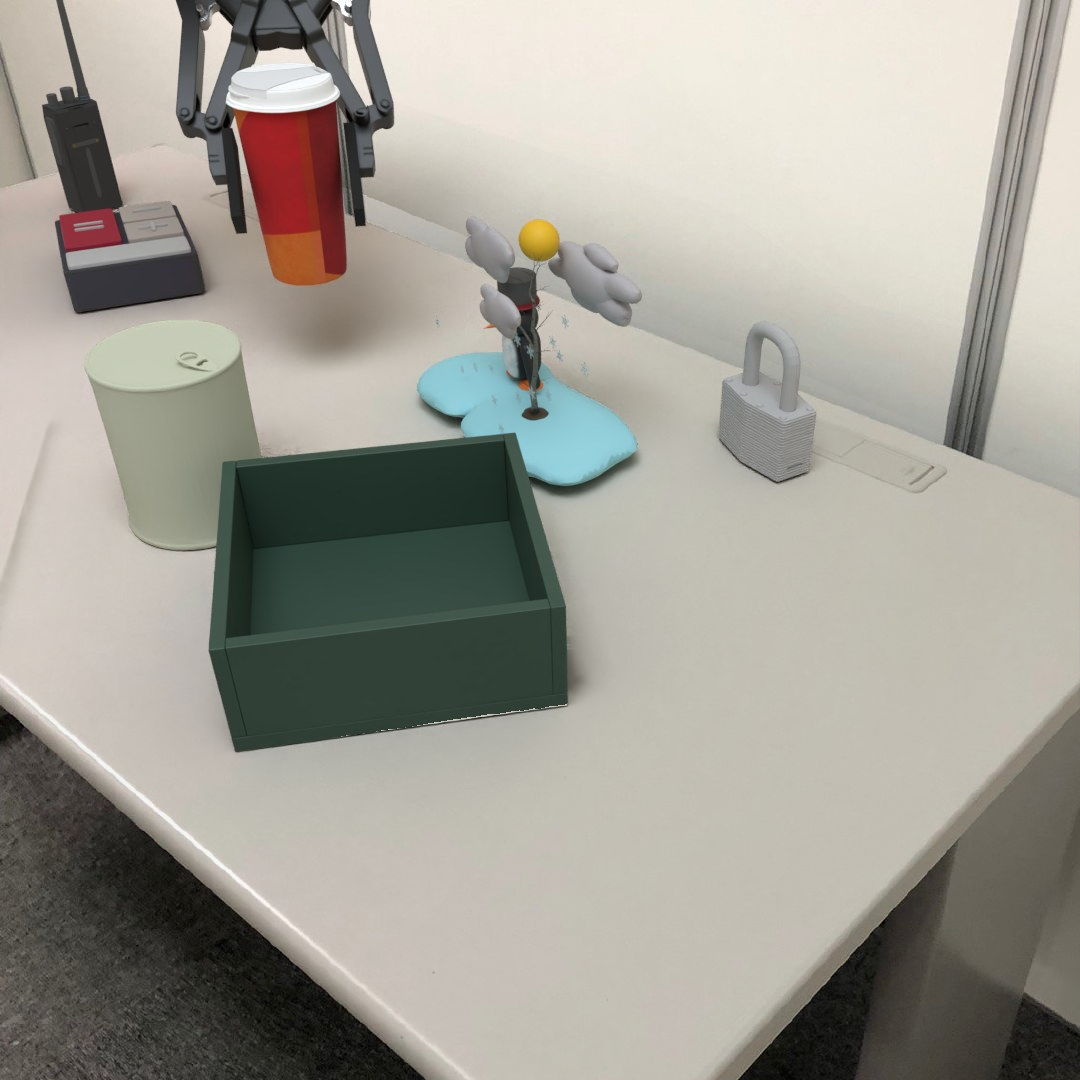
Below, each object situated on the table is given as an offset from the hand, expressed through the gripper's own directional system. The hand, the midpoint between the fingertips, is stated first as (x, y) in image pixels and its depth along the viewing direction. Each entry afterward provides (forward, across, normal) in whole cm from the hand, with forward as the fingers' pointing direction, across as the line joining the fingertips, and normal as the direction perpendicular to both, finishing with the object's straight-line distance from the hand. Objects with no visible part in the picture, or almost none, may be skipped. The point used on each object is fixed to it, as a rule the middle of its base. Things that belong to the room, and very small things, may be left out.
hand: (299, 221), depth 86 cm
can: (+21, +8, +2) cm, 22 cm away
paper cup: (+1, 0, -6) cm, 6 cm away
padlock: (+21, -30, +3) cm, 37 cm away
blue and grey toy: (+16, -14, -2) cm, 22 cm away
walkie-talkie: (-21, +22, -39) cm, 49 cm away
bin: (+31, -3, +12) cm, 33 cm away
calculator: (-8, +16, -27) cm, 33 cm away
